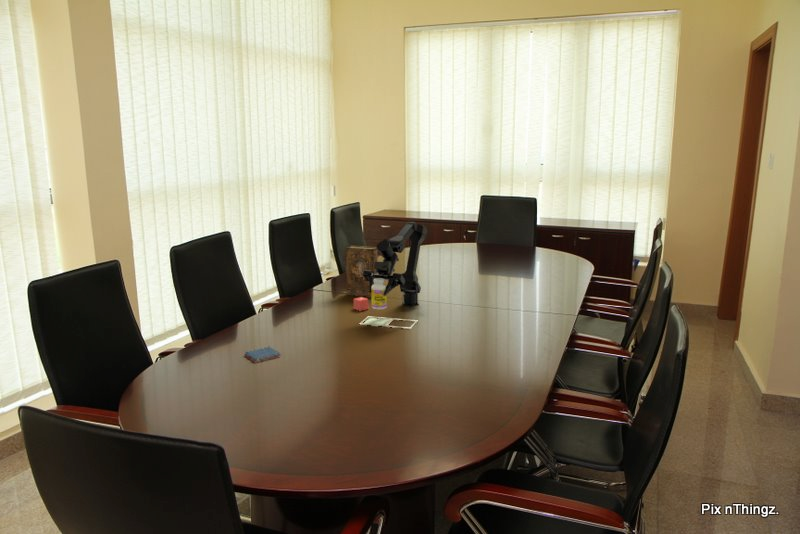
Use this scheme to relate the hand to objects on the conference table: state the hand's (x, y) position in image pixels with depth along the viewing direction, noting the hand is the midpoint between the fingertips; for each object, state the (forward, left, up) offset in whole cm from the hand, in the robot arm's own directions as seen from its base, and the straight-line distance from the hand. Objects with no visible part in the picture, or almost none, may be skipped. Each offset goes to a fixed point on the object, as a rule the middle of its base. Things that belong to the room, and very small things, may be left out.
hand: (377, 293), depth 263 cm
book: (-7, -49, -13) cm, 51 cm away
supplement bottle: (-1, -1, -7) cm, 7 cm away
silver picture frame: (-4, +2, -13) cm, 14 cm away
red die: (+1, -24, -13) cm, 27 cm away
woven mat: (+53, +24, -14) cm, 60 cm away
